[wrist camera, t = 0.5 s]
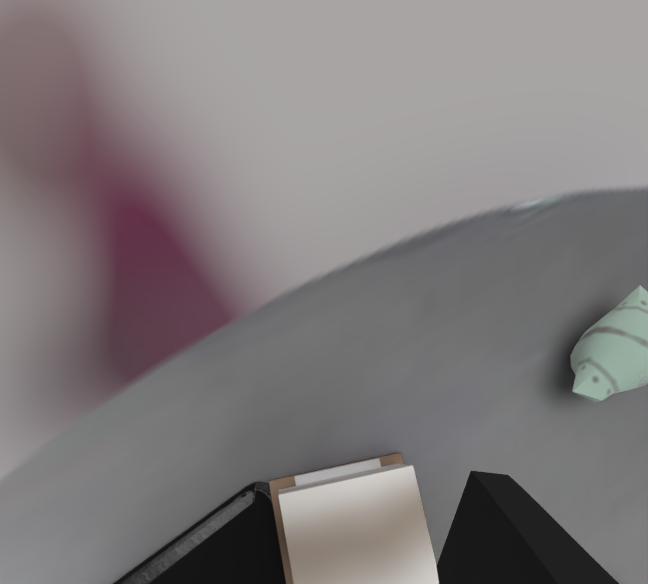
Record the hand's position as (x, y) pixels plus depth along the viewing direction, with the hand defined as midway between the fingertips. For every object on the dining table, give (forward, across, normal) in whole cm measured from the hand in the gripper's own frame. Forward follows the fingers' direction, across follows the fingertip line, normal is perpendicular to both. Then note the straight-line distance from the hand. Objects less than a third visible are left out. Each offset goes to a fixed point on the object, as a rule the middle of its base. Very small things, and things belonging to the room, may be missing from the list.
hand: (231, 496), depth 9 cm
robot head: (+25, -22, +9) cm, 34 cm away
